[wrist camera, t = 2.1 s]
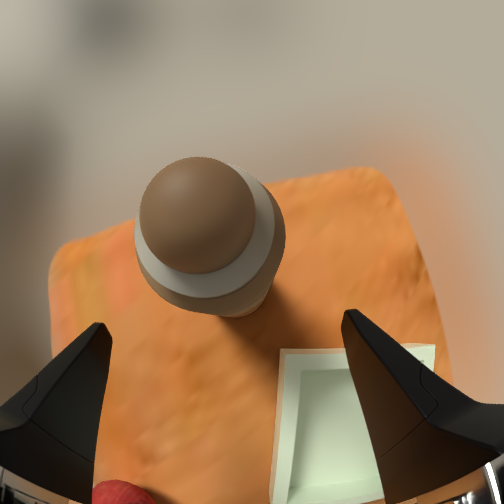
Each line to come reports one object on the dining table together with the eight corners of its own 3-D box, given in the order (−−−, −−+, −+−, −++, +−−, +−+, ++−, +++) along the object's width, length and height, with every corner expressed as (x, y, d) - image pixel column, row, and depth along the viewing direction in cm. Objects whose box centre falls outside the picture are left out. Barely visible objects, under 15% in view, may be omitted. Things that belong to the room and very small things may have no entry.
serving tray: (389, 474, 15) (406, 491, 12) (268, 490, 16) (270, 513, 12) (411, 342, 19) (435, 344, 15) (280, 348, 19) (285, 354, 15)
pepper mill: (266, 319, 19) (300, 314, 5) (200, 315, 19) (70, 293, 5) (268, 254, 21) (296, 108, 6) (205, 251, 21) (117, 115, 6)
